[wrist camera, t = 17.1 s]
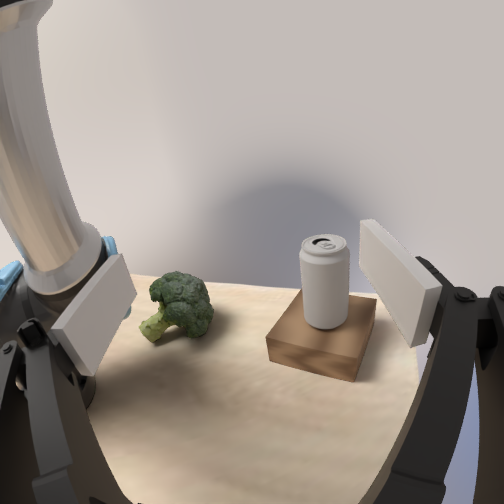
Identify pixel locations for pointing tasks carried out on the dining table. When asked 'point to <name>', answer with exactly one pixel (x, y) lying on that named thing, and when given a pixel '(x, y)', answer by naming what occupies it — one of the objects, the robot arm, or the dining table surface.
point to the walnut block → (323, 340)
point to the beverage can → (325, 280)
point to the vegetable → (178, 306)
